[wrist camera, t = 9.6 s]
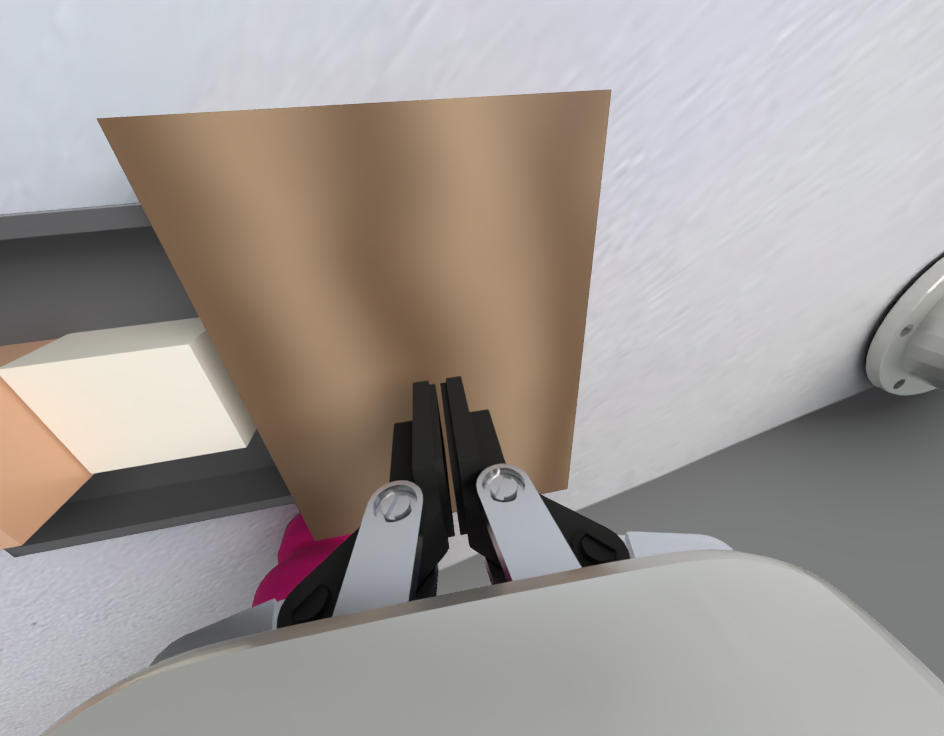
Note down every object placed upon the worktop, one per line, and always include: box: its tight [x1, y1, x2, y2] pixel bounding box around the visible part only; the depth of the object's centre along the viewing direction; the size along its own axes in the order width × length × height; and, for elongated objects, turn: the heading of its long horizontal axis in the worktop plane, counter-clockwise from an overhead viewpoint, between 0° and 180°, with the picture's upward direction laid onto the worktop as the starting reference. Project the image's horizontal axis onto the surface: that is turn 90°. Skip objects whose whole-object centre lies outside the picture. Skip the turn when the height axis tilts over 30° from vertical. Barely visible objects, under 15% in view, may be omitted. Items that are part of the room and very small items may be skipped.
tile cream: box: [0, 317, 257, 474], centre depth 14 cm, size 6×5×3 cm
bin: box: [0, 203, 295, 557], centre depth 14 cm, size 13×14×3 cm
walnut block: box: [97, 90, 611, 541], centre depth 16 cm, size 14×18×4 cm
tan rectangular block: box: [0, 339, 95, 549], centre depth 12 cm, size 6×5×3 cm
